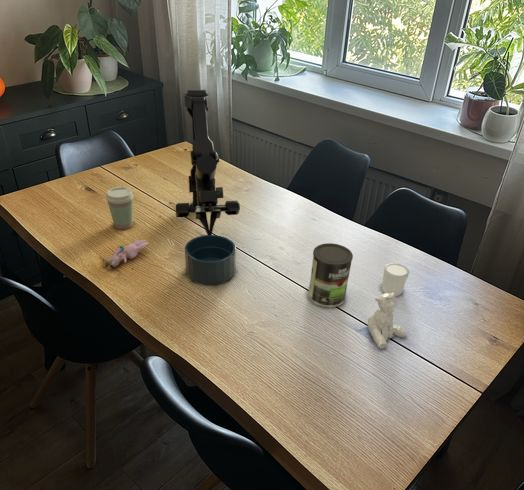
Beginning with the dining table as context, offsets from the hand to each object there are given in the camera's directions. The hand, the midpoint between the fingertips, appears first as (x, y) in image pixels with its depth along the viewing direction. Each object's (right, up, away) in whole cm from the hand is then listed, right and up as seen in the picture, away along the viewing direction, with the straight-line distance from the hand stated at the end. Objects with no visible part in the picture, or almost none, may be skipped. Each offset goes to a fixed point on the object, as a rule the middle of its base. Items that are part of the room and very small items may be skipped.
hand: (209, 237), depth 146 cm
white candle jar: (+52, -16, -5) cm, 55 cm away
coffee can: (+33, -17, -9) cm, 38 cm away
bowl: (+1, -10, -2) cm, 10 cm away
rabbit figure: (-25, -7, +1) cm, 26 cm away
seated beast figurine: (+45, -26, -21) cm, 56 cm away
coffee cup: (-30, +5, +18) cm, 35 cm away
